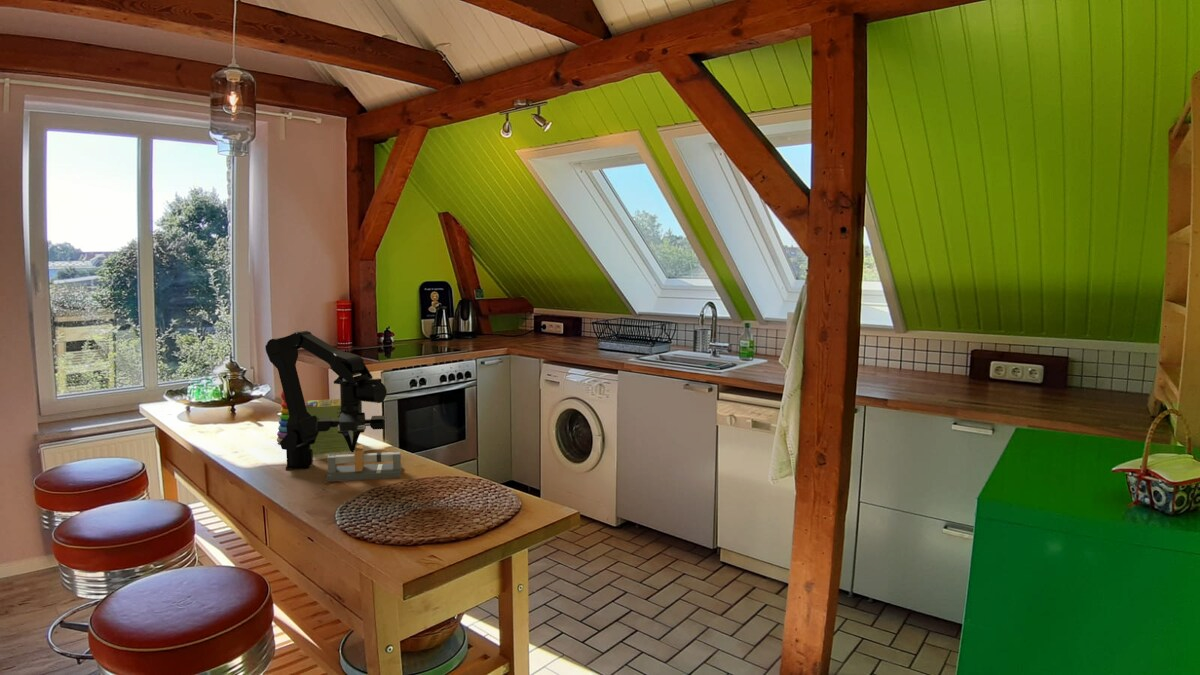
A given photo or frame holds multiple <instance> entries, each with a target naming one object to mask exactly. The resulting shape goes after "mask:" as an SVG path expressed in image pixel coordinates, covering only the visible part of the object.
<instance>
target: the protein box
mask: <svg viewBox="0 0 1200 675" xmlns="http://www.w3.org/2000/svg"><path fill="white" fill-rule="evenodd" d="M305 405H306V409H307V412H308V413H309V414H310V415H311V416H314V415H315V416H316V417H317V421H318V420H319V419H320V418H326V417H333V421H336V420H339V415H340V412H341V399H340V398H332V399H330V398H329V399H316V400H315V399H313V400H307V402H306V404H305ZM351 434H352V443H353V431H351ZM357 445H358V442H357V443H356V446H357ZM310 447H311V449H312V450H313V455H314V454H328V453H341V452H344V451H345V452H351V451H350V449H349V446H348V444H347V442H346V439H345V438H344V436H343V435H342V434H341V433H338V427H330V429H329V430H328V431H322V432H319V434H318V435H317V437H316V440H315V443H314V444H311V445H310ZM355 449H356V447H355ZM354 451H355V450H354Z"/></svg>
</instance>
